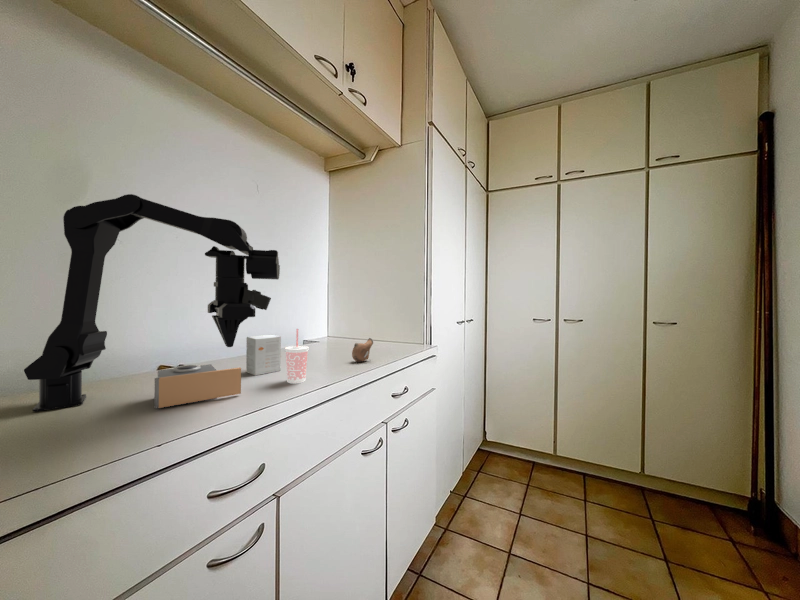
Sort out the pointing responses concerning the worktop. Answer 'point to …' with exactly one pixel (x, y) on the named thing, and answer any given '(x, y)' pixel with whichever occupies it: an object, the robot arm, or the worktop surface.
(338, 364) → the worktop surface
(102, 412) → the worktop surface
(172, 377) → the side door
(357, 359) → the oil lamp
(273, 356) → the small box
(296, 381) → the beverage cup
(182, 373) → the camera housing
